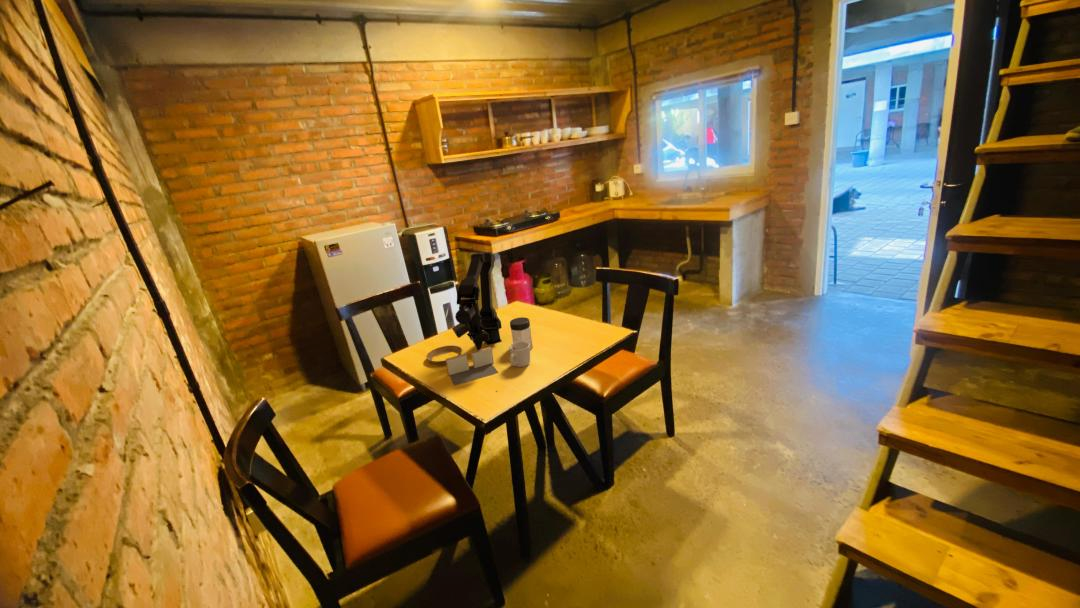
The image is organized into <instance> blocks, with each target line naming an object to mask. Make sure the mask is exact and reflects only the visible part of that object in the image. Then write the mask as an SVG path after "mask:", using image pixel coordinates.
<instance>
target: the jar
mask: <svg viewBox="0 0 1080 608" xmlns="http://www.w3.org/2000/svg"><path fill="white" fill-rule="evenodd" d="M530 323H531V321H530V319H529V318H528V317H524V316H523V317H515V318H513V319H511V320H510V321H509V326H510V332H511V338H512V344H513V343H515V342H521V341H523V342H528V343H529V344H530V350H531V349H533V348H534V345H533V338H532V331H531V330H532V329H531V324H530Z"/></svg>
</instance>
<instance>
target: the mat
mask: <svg viewBox="0 0 1080 608" xmlns="http://www.w3.org/2000/svg"><path fill="white" fill-rule="evenodd" d="M495 374H499V370H497V368H496V367H495V366H494V365H493V363H492V364H488V365H484V366H481V367H477V368H474V366H473V364H472V365H469V370H467V371H463V372H460V373H456V374H453V375H449V374H448V376H449V378H450V380H451V381H452V384H453V386H454V387H455V386H459V385H462V384H466V383H470V382H473V381H475V380H479V379H482V378H485V377H488V376H492V375H495Z"/></svg>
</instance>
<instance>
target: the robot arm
mask: <svg viewBox="0 0 1080 608" xmlns="http://www.w3.org/2000/svg"><path fill="white" fill-rule="evenodd" d="M495 262H496V255H495V254H494V253H493V252H491V251H485V252H475V253H472V254H471V255H470V263H469V267H468V269H467V272H466V274H465V275H466V276H465V278H463V279H462V280H461V281H460V283H459V285H458V287H457V291H456V293H457V294H456V305H459V307H458V310H457V312H456V313H455V315H454V317H455V320H456V322H457V323H458V324H456V325H454V326H453V327H452V328H451V329H452V331H453V332H454V334H455V336H456V337H457V338H458V339H460V338H462V337H463V336H464V335H467V337H469V339H470V340H471V341H472V343H473V344H474V346H475V349H476V351H477V350H480V349H482V346H483V344H484V343H485V344H486V345H487V346H490V345H494V344H497V343H501V342H502V339H501V335H500V329H502V320H501V319H500V318H499V317H498V313H497V310H496V309H495V308H494V306H493V290H492V287H493V286H492V272H493V269H494V267H495ZM479 280H480V281H479ZM478 283H479V284H480V285H479V284H478ZM480 297H481V298H480ZM479 300H480V301H481V308H480V305H479Z"/></svg>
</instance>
